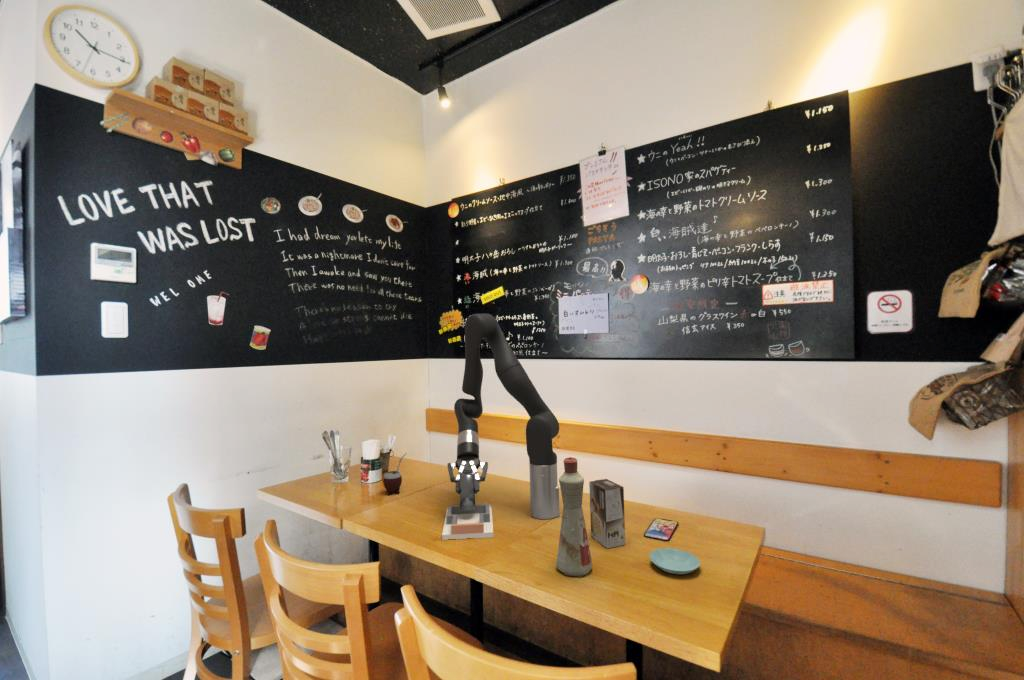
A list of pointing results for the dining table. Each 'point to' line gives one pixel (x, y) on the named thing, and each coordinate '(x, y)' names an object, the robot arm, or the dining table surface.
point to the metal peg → (467, 491)
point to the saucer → (674, 561)
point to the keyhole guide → (468, 523)
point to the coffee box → (607, 513)
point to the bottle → (573, 524)
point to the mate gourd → (393, 480)
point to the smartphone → (661, 529)
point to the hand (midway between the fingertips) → (467, 492)
